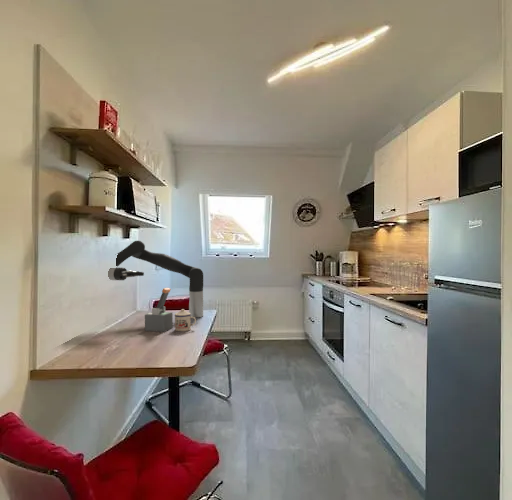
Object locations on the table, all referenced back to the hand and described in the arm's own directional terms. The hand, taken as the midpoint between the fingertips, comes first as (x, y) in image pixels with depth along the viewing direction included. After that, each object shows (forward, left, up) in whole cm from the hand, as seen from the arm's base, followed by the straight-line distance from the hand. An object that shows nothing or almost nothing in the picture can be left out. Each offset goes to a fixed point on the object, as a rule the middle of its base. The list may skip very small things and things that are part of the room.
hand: (143, 273), depth 207 cm
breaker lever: (+8, +5, -22) cm, 24 cm away
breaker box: (+8, +6, -32) cm, 33 cm away
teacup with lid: (+20, +16, -32) cm, 41 cm away
